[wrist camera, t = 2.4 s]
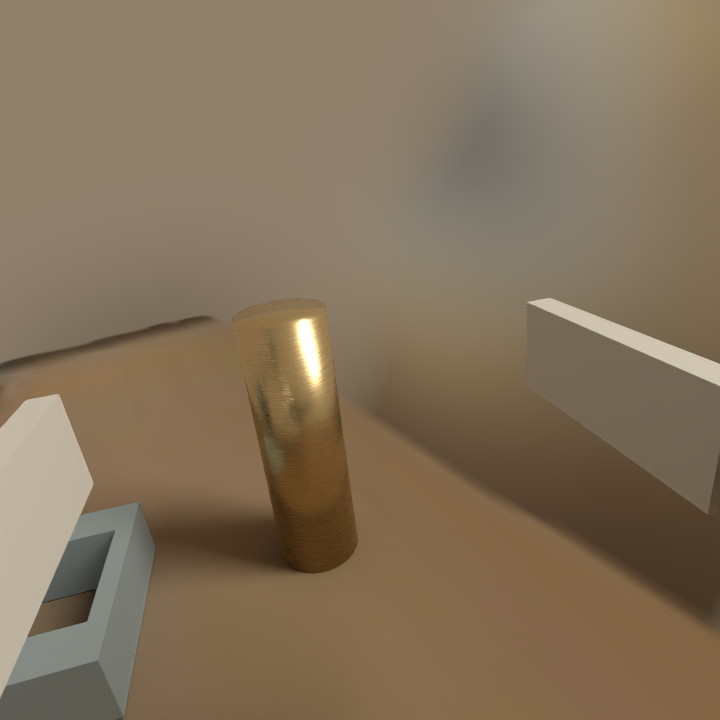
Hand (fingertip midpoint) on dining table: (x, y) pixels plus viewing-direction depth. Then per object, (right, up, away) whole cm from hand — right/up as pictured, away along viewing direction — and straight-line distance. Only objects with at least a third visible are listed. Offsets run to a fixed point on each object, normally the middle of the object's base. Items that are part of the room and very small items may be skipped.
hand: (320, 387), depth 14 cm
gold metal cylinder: (-1, -10, +15) cm, 18 cm away
